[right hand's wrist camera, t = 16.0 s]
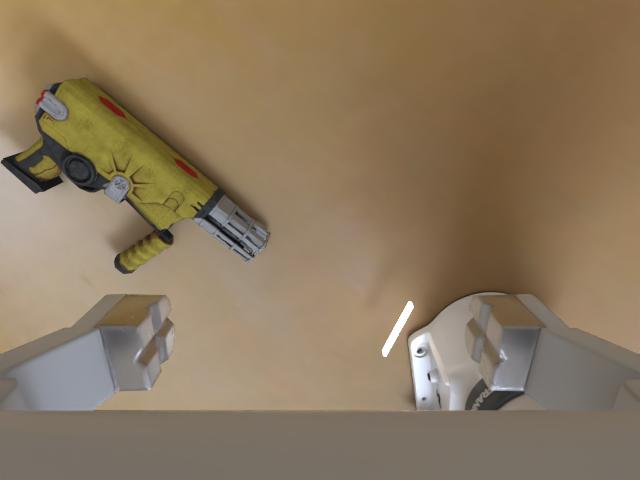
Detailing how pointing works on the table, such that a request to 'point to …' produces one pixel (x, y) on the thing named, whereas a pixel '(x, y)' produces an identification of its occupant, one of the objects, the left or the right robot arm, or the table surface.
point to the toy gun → (127, 171)
